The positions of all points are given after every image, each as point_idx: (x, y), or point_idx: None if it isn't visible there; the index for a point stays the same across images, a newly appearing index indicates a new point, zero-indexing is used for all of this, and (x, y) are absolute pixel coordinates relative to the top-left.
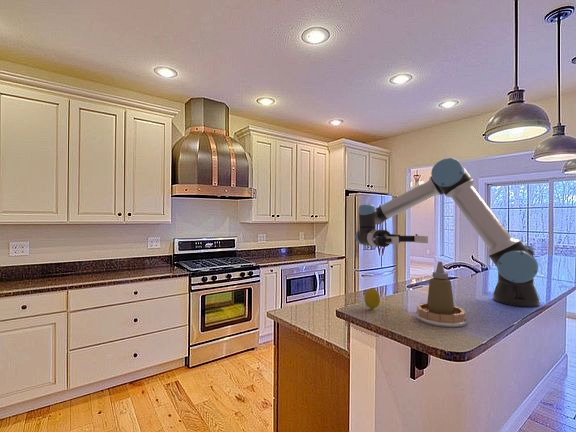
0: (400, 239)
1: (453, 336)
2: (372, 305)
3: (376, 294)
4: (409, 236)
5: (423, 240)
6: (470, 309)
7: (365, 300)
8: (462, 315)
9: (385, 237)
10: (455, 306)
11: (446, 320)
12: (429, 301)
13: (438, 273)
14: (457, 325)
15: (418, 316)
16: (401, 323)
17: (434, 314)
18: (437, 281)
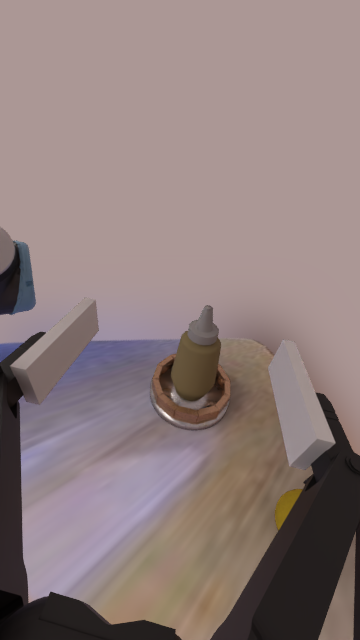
0: (14, 547)
1: (228, 356)
2: None
3: (302, 489)
4: (2, 422)
5: (87, 332)
6: (72, 395)
7: None
8: None
9: (340, 451)
10: (154, 373)
11: None
12: (215, 377)
13: (214, 326)
14: None
15: (227, 405)
16: (266, 414)
17: (224, 372)
18: (217, 337)
